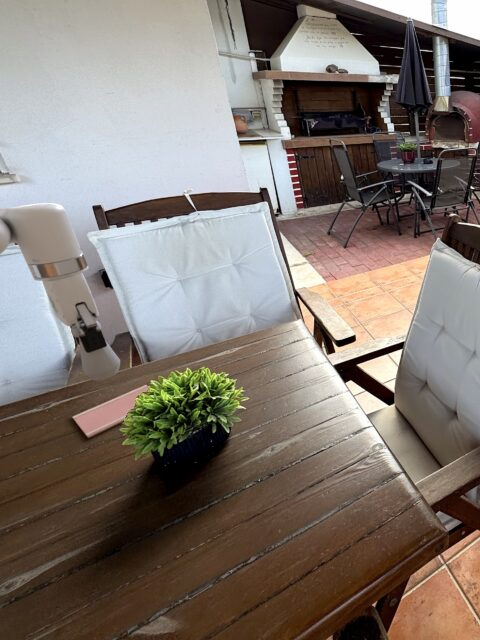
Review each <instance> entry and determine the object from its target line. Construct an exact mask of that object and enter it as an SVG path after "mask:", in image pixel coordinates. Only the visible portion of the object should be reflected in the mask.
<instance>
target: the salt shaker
mask: <svg viewBox="0 0 480 640" xmlns="http://www.w3.org/2000/svg"><path fill="white" fill-rule="evenodd" d="M96 322H97V324H98V326H99V329H100V330H101V331H102V325H101V323H100V322H99V321H98V320H96ZM81 326H82V328H83V326H84V323H83V324H81ZM70 333H71V335H72V336H73V337H74V338H75V337H79V336H81V335H80V333H79V330H78V328H77V326H76V324H75V325H74V326H73V327H71V328H70ZM105 341H106V344H107V346H106V347H104V348H101V349H98V350H95V351H93V352H90V353H87V352H86V351H85V349H84V347H83V344H82V342H81V340H80V338H79V343H80V345H79V351H80V360H81V368H82V369H81V370H82V373H83V374H84V375H85V376H86V377H87V378H89V379H90V380H92V381H96V382H97V381H104V380H108V379H110V378H113V377H114V376H115V375H116V374H117V373H118V372H119V371H120V367H121V359H120V358H119V356H118V355H117V354H116V353H115V351H114V350H113V348H112V347H111V346H110V344H109V343H108V341H107V340H106V339H105Z"/></svg>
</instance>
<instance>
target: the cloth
mask: <svg viewBox="0 0 480 640" xmlns="http://www.w3.org/2000/svg"><path fill="white" fill-rule="evenodd" d="M148 387H149V386H148V385H147V384H144V385H142V386H139V387H137V388H135V389H132V390H129V391H128V392H126V393H124V394H121V395H119V396H116V397H115V398H112V399H110V400H107V401H104V402H103V403H101V404H98V405H96V406H94V407H93V406H92V407H91V408H89V409H86V410H83V411H81V412H80V413H77V414H75V415H73V416H72V419H73V421H75V423H76V424H77V426H78V427H79V428H80V430H81V431H82V432H83V434H84V435H85V436H86V437H87V438H88V439H90V438H92V437H94V436H96V435H98V434H100V433H103V432H104V431H107V430H109V429H111V428H113V427H115V426H117V425H119V424H122V423H124V422H125V421H124V419H125V417H126V415H127V413H128V411H130V410H131V409H133V408H134V406H135V398H136V397H137V396H138V395H139V394H141V393H142V392H146V391H147V390H148ZM123 421H124V422H123Z"/></svg>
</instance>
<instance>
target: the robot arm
mask: <svg viewBox="0 0 480 640" xmlns="http://www.w3.org/2000/svg"><path fill="white" fill-rule="evenodd" d="M11 244H17V245H18V247H19V249H20V251H21V254H22V256H23V258H24V260H25V263H26V265H27V267H28V269H29V271H30V273H31V275H32V278H33V280H34V281H39V282H42V285H43V287H44V290H45V293H46V296H47V298H48V301H49V303H50V306H51V308H52V310H53V311H52V312H53V313H54V315H55V317H56V319H58V320H59V321H60V322H61V323H62V324H63V325H64V326H66V327H71V328H72V327H73V326H74V325H75V324H76V326H77V328H78V330H79V333H80V335H81V336H79V337H74V338H75V341H76V342H77V346H80V343H79V338H80V340H81V342H82V344H83V347H84V349H85V351H86V352H87V353H90V352H93V351H95V350H98V349H101V348H104V347H106V346H107V344H106V342H107V340H106V339H105V336H104V334H103V332H102V329H101V330H100V329H99V326H98V324H97V322H96V321H97V320H96V319H97V318H98V317H99V316H100V313H99V310H98V307H97V304H96V300H95V298H94V296H93V293H92V290H91V289H90V286H89V284H88V281H87V279H86V277H85V275H84V273H85V272H87V271H88V270H89V269H90V268H89V265H88V263H87V260H86V257H85V254H84V252H83V250H82V248H81V244H80V243H79V239H78V238H77V235H76V232H75V230H74V228H73V225H72V222H71V219H70V217H69V215H68V213H67V210H66V209H65V207H64V206H63V205H61V204H59V203H53V202H50V203H49V202H45V203H43V202H42V203H33V204H26V205H19V206H15V207H0V255H2V253H3V252H4V251H5V250H6V249H7V248H8V247H9V245H11ZM83 323H84V326H83V328H82V326H81V324H83ZM105 340H106V341H105Z"/></svg>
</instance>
